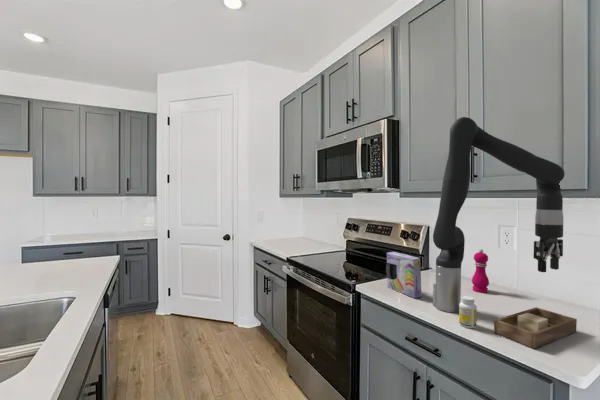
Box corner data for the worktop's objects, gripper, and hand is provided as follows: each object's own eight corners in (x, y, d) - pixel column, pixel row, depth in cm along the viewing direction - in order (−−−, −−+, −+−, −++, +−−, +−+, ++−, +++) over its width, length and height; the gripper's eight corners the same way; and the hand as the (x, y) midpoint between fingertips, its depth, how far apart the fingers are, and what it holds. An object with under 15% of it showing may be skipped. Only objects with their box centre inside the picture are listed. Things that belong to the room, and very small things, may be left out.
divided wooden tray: (494, 333, 103) (494, 319, 103) (535, 319, 115) (536, 307, 115) (534, 349, 93) (535, 334, 92) (576, 332, 105) (576, 319, 104)
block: (517, 326, 104) (517, 315, 104) (527, 322, 107) (527, 312, 107) (537, 333, 99) (538, 322, 99) (547, 329, 102) (547, 318, 102)
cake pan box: (384, 286, 154) (385, 251, 153) (392, 285, 156) (393, 250, 155) (413, 299, 136) (414, 259, 135) (422, 297, 138) (422, 258, 137)
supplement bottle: (470, 322, 112) (471, 295, 112) (479, 328, 107) (480, 300, 106) (455, 322, 112) (456, 295, 112) (464, 328, 106) (464, 300, 106)
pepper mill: (487, 289, 150) (488, 248, 150) (489, 294, 143) (490, 251, 143) (470, 287, 153) (471, 247, 153) (472, 292, 146) (473, 249, 146)
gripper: (547, 221, 113) (546, 266, 113) (525, 222, 106) (524, 270, 106) (572, 222, 106) (572, 270, 106) (551, 224, 100) (550, 275, 100)
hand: (548, 270), depth 106 cm, fingers open, 7 cm apart
